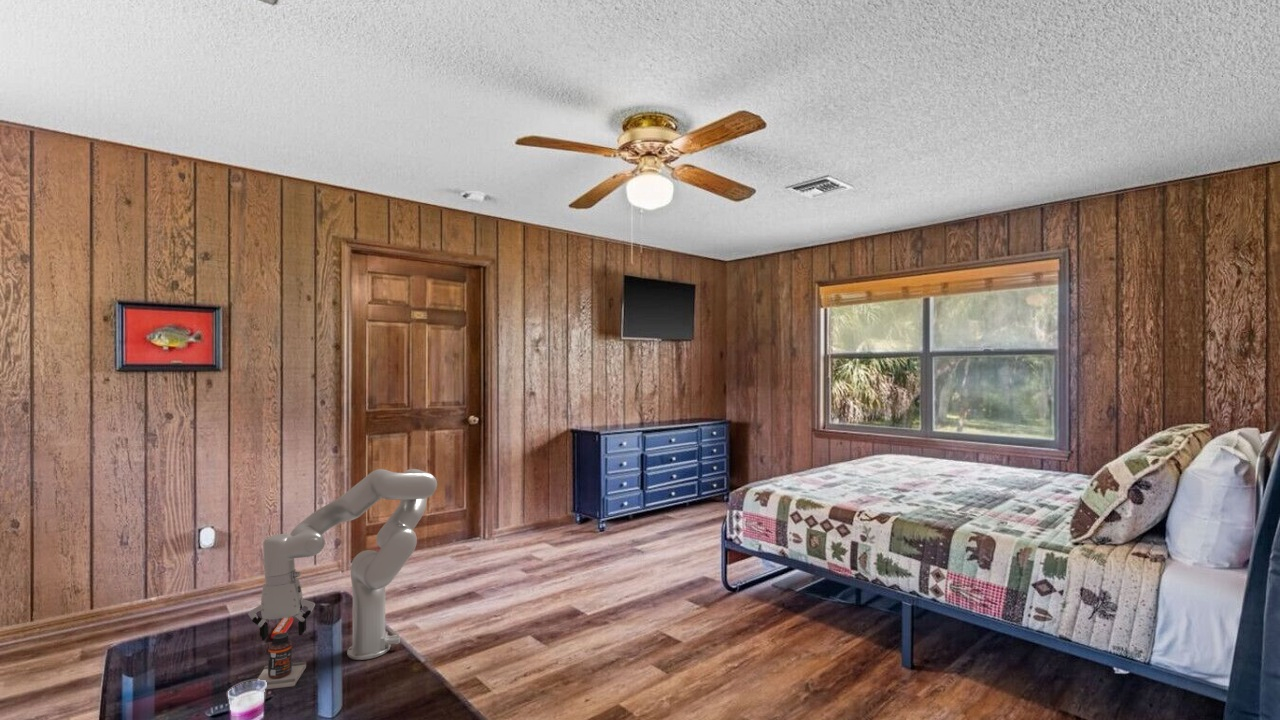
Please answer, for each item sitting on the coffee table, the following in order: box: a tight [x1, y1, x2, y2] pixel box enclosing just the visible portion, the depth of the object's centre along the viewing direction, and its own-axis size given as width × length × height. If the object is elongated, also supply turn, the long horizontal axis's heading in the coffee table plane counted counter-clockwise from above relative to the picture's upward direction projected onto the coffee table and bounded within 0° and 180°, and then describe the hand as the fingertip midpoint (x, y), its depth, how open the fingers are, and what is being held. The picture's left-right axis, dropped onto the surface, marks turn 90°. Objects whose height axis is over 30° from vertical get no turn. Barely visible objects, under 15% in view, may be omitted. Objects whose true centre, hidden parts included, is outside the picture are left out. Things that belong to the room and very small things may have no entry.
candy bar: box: [270, 617, 294, 640], centre depth 208 cm, size 16×4×3 cm, turn 16°
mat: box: [255, 661, 307, 690], centre depth 176 cm, size 11×11×2 cm
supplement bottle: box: [267, 632, 293, 679], centre depth 176 cm, size 6×6×11 cm
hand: (283, 635), depth 177 cm, fingers open, 9 cm apart
